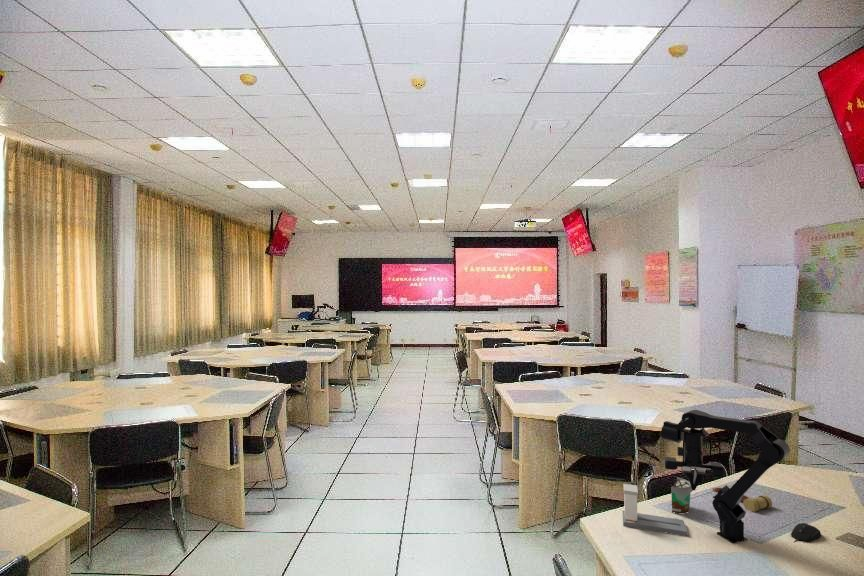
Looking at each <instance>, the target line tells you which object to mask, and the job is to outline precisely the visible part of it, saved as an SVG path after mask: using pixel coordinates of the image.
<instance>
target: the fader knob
mask: <svg viewBox="0 0 864 576" xmlns="http://www.w3.org/2000/svg"><path fill="white" fill-rule="evenodd" d="M623 494H624V495H623V497H624V498H623V499H624V500H623V501H624V502H623V503H624V510H623V511H624V513H625V519H627V520H633V521H637V513H638V496H639V491H638V485H636V484H627V483H623Z"/></svg>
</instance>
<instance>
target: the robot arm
mask: <svg viewBox="0 0 864 576" xmlns="http://www.w3.org/2000/svg"><path fill="white" fill-rule="evenodd" d="M687 428H688V429H687ZM706 429H716V430H723V431H729V432H737V433H743V434H748V436H750V437H751V438H752V440H753V441H754V443H755V444H756V446H757V447H758V448H759V449H760V452H759V453H758V456H757V458H756V460H755V461H754V462H753V463H752V465H751V466H750V467H749V468H748V469H747V470H745V472H744V473H743V474H742V475H741V476H740V477H739V478H738V479H737V480H736V481H735V483H734V484H733V485H732V486H731V487H729V486H728V485H727V484H726V485H724V486H723V487H720V488H721V489H720V490H719V492H718V493H717V492H716V494H715V495H714V496H712V498H713V499H712V506H713V509H714V510H715V512H716V513H717V517H718V519H719V531H717V532H716V534H717V535H718V536H719V537H721V538H722V539H723V538H724V539H725V540H727V541H729V542H730V543H733V544H736V543H741V542H746V541H748V538H747V537H745V523H744V521H742V519H743V518H745V515H746V514H747V512H746V510H745V509H744V508H743V507H742V506H741V505H740V503H741V499H742V497H743V495H744V496H745V494H746V493H747V492H748V490H749V489H751V488H752V487H753V485H755V483H757V481H758V480H759V479H760V478H761V477H763V475H764V474H765V473H766V472H767V471H768V470H769V469H770V468H772V467H773V466H775V465H776V464H778V463H780V462H781V461H783V460H784V459H785V458H786V457H788V455H790V453H791V449H790V446H789V444H788V443H786V441H785V440H783V439H780V438H779V437H777V435H775V434H774V433H773V432H772V431H770V430H769V429H767V428H766V427H765V426H763V425H762V423H760V422H759V421H757V420H755V419H754V420H748V419H741V418H740V419H739V418H733V417H725V416H717V415H714V414H710V413H707V412H705V411H703V410H698V409H691V410H689V411H686V412H684V413H683V414H682V415H681V420H680V421H679V422H678V423H676V422H675V423H674V422H671V421H669V420H665V421H664V422H663V425H662V427H661V431H660V438H661V439H662V440H664V441H668V442H673V443H675V444H676V443H678V444H680V443H682V441H683V446H677V447H676V455H677V456H678V457H682V461H679V460H677V458H676V457H670V456H664V458H663V466H664V469H666V470H672V471H675V470H677V469H678V468H680V469H681V472H682V474H685V475H686V477H687V478H688V482H690V485H691V488H692V490H693V491H696V489H697V487H698V485H699V484H700V481H701V479H702V478H703V477H706V476H707V473H706V471H709V472H710V471H712V474H714V475H716V476H722V477H724V476H726V469H725V466H724V465H723V464H722V463H721V462H716V461H708V464H706V463H705V464H704V463H703V438H705V437H708V436H710V432H708V431H707V430H706ZM692 469H693V472H692ZM693 473H694V474H693Z"/></svg>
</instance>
